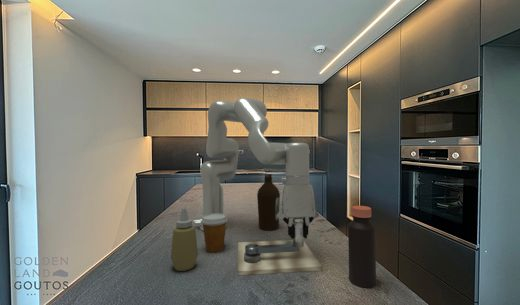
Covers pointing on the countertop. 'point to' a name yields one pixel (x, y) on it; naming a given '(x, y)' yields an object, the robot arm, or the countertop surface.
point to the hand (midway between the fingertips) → (298, 236)
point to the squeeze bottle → (184, 244)
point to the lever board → (276, 260)
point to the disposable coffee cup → (214, 231)
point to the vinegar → (362, 248)
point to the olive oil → (268, 205)
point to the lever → (297, 242)
